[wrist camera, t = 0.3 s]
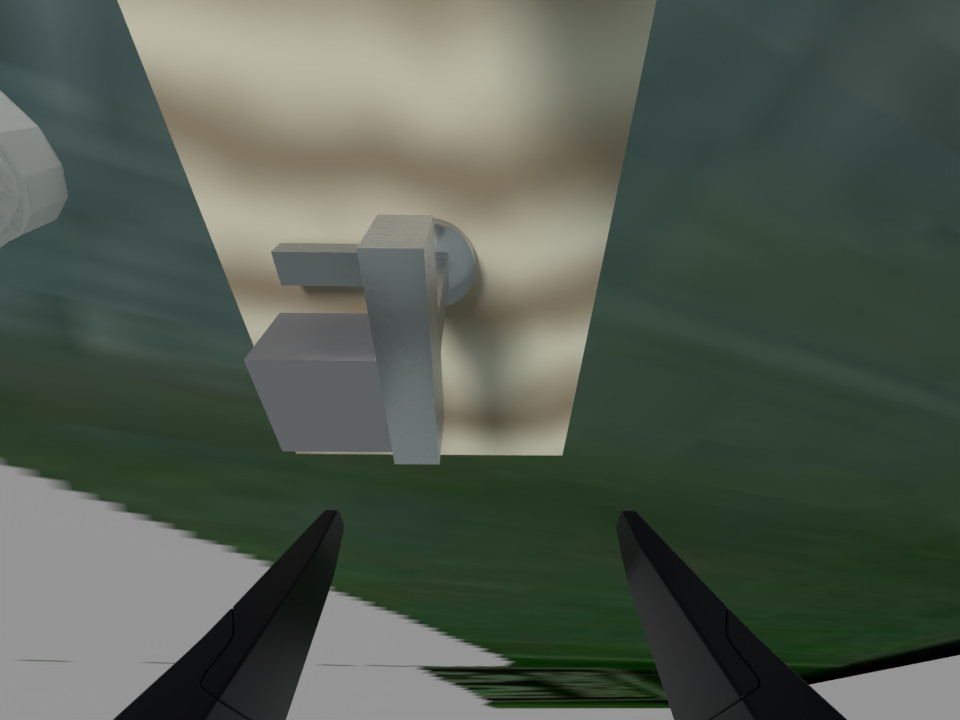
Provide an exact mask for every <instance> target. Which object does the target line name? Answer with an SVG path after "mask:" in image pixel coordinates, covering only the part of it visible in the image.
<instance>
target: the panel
mask: <svg viewBox="0 0 960 720" xmlns="http://www.w3.org/2000/svg"><path fill="white" fill-rule="evenodd" d="M117 1H118V3H119V6H120V8H121V11H122V14H123V16H124V19H125V21H126V24H127V26H128V29H129V31H130V34H131V36H132V39H133V41H134V44H135V46H136V49H137V52H138V54H139V57H140V59H141V62H142V64H143V67H144V69H145V72H146V74H147V77H148V79H149V82H150V84H151V87H152V90H153V92H154V95H155V97H156V100H157V102H158V105H159V107H160V110H161V112H162V115H163V117H164V120H165V122H166V125H167V128H168V130H169V133H170V135H171V138H172V140H173V143H174V145H175V148H176V150H177V153H178V155H179V158H180V161H181V163H182V166H183V168H184V171H185V173H186V176H187V178H188V181H189V183H190V186H191V188H192V191H193V193H194V196H195V199H196V201H197V204H198V206H199V209H200V211H201V214H202V216H203V219H204V221H205V224H206V226H207V229H208V231H209V234H210V237H211V239H212V242H213V244H214V247H215V249H216V252H217V254H218V257H219V259H220V262H221V264H222V267H223V269H224V272H225V275H226V277H227V280H228V282H229V285H230V287H231V290H232V292H233V295H234V297H235V300H236V302H237V305H238V307H239V310H240V313H241V315H242V318H243V320H244V323H245V325H246V328H247V330H248V333H249V335H250V338H251V340H252V343H253V345H254V346H255V344H256V343H257V342H258V340H259V339H260V338H261V336H262V335H263V334H264V333H265V331H266V330H267V329H268V327H269V326H270V325H271V323H272V322H273V321H274V319H275V318H276V317H277V316H278V314H279V313H362V314H368V310H367V305H366V299H365V293H364V288H363V286H281V283H280V280H279V276H278V273H277V270H276V267H275V264H274V260H273V257H272V254H271V251H272V250H273V249H274V248H275V247H276V246H277V245H278V244H279V243H319V244H359V243H360V242H361V240H362V238H363V237H364V235H365V234H366V232H367V230H368V229H369V227H370V226H371V224H372V222H373V221H374V219H375V218H376V216H377V215H433V218H436V219H440V220H444V221H447V222H449V223H451V224H453V225H454V226H456V227H457V228H459V229H460V230H461V231H462V232H463V233H464V234H465V235H466V236H467V238H468V239H469V241H470V243H471V245H472V247H473V250H474V254H475V276H474V280H473V283H472V285H471V287H470V289H469V291H468V292H467V293H466V294H465V295H464V296H463V297H462V298H461V299H460V300H459V301H457V302H455V303H453V304H451V305H448V306H446V313H445V321H444V329H443V337H442V345H441V365H442V383H443V401H444V423H443V434H442V444H441V455H553V456H562V455H563V450H564V446H565V441H566V436H567V431H568V426H569V421H570V417H571V412H572V407H573V402H574V397H575V392H576V388H577V383H578V378H579V373H580V368H581V363H582V359H583V354H584V349H585V344H586V339H587V334H588V330H589V325H590V320H591V315H592V310H593V305H594V301H595V296H596V291H597V286H598V281H599V276H600V272H601V267H602V262H603V257H604V252H605V247H606V243H607V238H608V233H609V228H610V223H611V218H612V213H613V209H614V204H615V199H616V194H617V189H618V184H619V180H620V175H621V170H622V165H623V160H624V155H625V151H626V146H627V141H628V136H629V131H630V126H631V122H632V117H633V112H634V107H635V102H636V97H637V93H638V88H639V83H640V78H641V73H642V68H643V64H644V59H645V54H646V49H647V44H648V39H649V35H650V30H651V25H652V20H653V15H654V10H655V6H656V1H657V0H117ZM295 452H296V454H393V452H299V451H295Z"/></svg>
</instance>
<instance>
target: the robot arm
mask: <svg viewBox="0 0 960 720" xmlns="http://www.w3.org/2000/svg"><path fill="white" fill-rule="evenodd" d="M343 532H344V523H343V520H342V517H341V515H340V512H339V511H338V510H325V511H324V512H323V513H322V514H321V515H320V516H319V517H318V518H317V519H316V520H315V521H314V522H313V523H312V524H311V525H310V526H309V527H308V529H307V530H306V531H305V532H304V533H303V534H302V535H301V536H300V537H299V538H298V539H297V540H296V541H295V542H294V543H293V544H292V545H291V546H290V547H289V548H288V549H287V551H286V552H285V553H284V554H283V555H282V556H281V557H280V558H279V559H278V560H277V561H276V562H275V563H274V564H273V565H272V566H271V567H270V568H269V569H268V570H267V572H266V573H265V574H264V575H263V576H262V577H261V578H260V579H259V580H258V581H257V582H256V583H255V584H254V585H253V586H252V587H251V588H250V589H249V590H248V591H247V592H246V594H245V595H244V596H243V597H242V598H241V599H240V600H239V601H238V602H237V603H236V604H235V605H234V606H233V609H230V610H229V611H228V612H227V613H226V614H225V615H224V616H223V617H222V618H221V619H220V620H219V621H218V622H217V623H216V624H215V625H214V626H213V627H212V628H211V629H210V630H209V631H208V632H207V633H206V634H205V635H204V636H203V637H202V638H201V639H200V640H199V641H198V642H197V643H196V644H195V645H194V646H193V647H192V648H191V649H190V650H189V651H188V652H187V653H185V654H184V655H183V656H182V657H181V658H180V659H179V660H178V661H177V662H176V663H175V664H173V665H172V666H171V667H170V668H169V669H168V670H167V671H166V672H165V673H164V674H162V675H161V676H160V677H159V678H158V679H157V680H156V681H155V682H154V683H153V684H151V685H150V686H149V687H148V688H147V689H146V690H145V691H144V692H143V693H142V694H140V695H139V696H138V697H137V698H136V699H135V700H134V701H133V702H132V703H131V704H129V705H128V706H127V707H126V708H125V709H124V710H123V711H122V712H121V713H120V714H118V715H117V716H116V717H115V718H114V719H113V720H286V718H287V715H288V712H289V709H290V706H291V703H292V700H293V697H294V694H295V691H296V688H297V685H298V682H299V679H300V676H301V673H302V670H303V667H304V664H305V661H306V658H307V655H308V652H309V649H310V646H311V643H312V640H313V637H314V634H315V631H316V628H317V625H318V622H319V620H320V617H321V614H322V611H323V608H324V605H325V602H326V599H327V596H328V593H329V590H330V587H331V584H332V580H333V577H334V573H335V569H336V565H337V560H338V555H339V551H340V546H341V541H342V537H343ZM616 532H617V537H618V541H619V546H620V551H621V555H622V560H623V565H624V569H625V573H626V577H627V580H628V584H629V587H630V590H631V593H632V596H633V599H634V602H635V605H636V608H637V611H638V614H639V617H640V620H641V623H642V626H643V628H644V631H645V634H646V637H647V640H648V643H649V646H650V649H651V652H652V655H653V658H654V661H655V664H656V667H657V670H658V673H659V676H660V679H661V682H662V685H663V688H664V691H665V694H666V697H667V700H668V703H669V706H670V709H671V712H672V715H673V718H674V720H847V719H846V718H845V717H844V716H843V715H842V714H840V713H839V712H838V711H837V710H836V709H835V708H834V707H833V706H832V705H831V704H829V703H828V702H827V701H826V700H825V699H824V698H823V697H822V696H821V695H820V694H818V693H817V692H816V691H815V690H814V689H813V688H812V687H811V686H810V685H809V684H807V683H806V682H805V681H804V680H803V679H802V678H801V677H800V676H799V675H798V674H796V673H795V672H794V671H793V670H792V669H791V668H790V667H789V666H788V665H787V664H785V663H784V662H783V661H782V660H781V659H780V658H779V657H778V656H777V655H776V654H775V653H773V652H772V651H771V650H770V649H769V648H768V647H767V646H766V645H765V644H764V643H763V642H762V641H761V640H760V639H759V638H758V637H757V636H756V635H755V634H754V633H753V632H752V631H751V630H750V629H749V628H748V627H747V626H746V625H745V624H744V623H743V622H742V621H741V620H740V619H739V618H738V617H737V616H736V615H735V614H734V613H733V612H732V611H731V610H730V609H727V606H726V605H725V604H724V603H723V602H722V601H721V600H720V599H719V598H718V597H717V596H716V595H715V594H714V592H713V591H712V590H711V589H710V588H709V587H708V586H707V585H706V584H705V583H704V582H703V581H702V580H701V579H700V578H699V577H698V576H697V575H696V574H695V573H694V572H693V570H692V569H691V568H690V567H689V566H688V565H687V564H686V563H685V562H684V561H683V560H682V559H681V558H680V557H679V556H678V555H677V554H676V553H675V552H674V551H673V549H672V548H671V547H670V546H669V545H668V544H667V543H666V542H665V541H664V540H663V539H662V538H661V537H660V536H659V535H658V534H657V533H656V532H655V531H654V530H653V529H652V527H651V526H650V525H649V524H648V523H647V522H646V521H645V520H644V519H643V518H642V517H641V516H640V515H639V514H638V513H637V512H636V511H635V510H622V511H621V512H620V515H619V517H618V520H617V523H616Z"/></svg>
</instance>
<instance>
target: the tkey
mask: <svg viewBox="0 0 960 720" xmlns="http://www.w3.org/2000/svg"><path fill="white" fill-rule="evenodd" d="M271 254H272V257H273V260H274V264H275V267H276V270H277V273H278V276H279V280H280V283H281V286H363V288H364V293H365V299H366V305H367V310H368V316H369V322H370V327H371V333H372V339H373V344H374V350H375V356H376V361H377V367H378V373H379V378H380V384H381V390H382V395H383V401H384V407H385V412H386V418H387V424H388V429H389V435H390V441H391V446H392V452H393V458H394V463H395V464H440V455H441V444H442V434H443V423H444V401H443V383H442V365H441V345H442V337H443V329H444V321H445V313H446V306H448V305H451V304H453V303H455V302H457V301H459V300H460V299H461V298H462V297H463V296H464V295H465V294H466V293H467V292H468V291H469V289H470V287H471V285H472V283H473V280H474V276H475V254H474V250H473V247H472V245H471V243H470V241H469V239H468V238H467V236H466V235H465V234H464V233H463V232H462V231H461V230H460V229H459V228H457V227H456V226H454V225H453V224H451V223H449V222H447V221H444V220H440V219H436V218H433V215H377V216H376V218H375V219H374V221H373V222H372V224H371V226H370V227H369V229H368V230H367V232H366V234H365V235H364V237H363V238H362V240H361V242H360V243H359V244H319V243H279V244H278V245H277V246H276V247H275V248H274V249H273V250H272V251H271Z"/></svg>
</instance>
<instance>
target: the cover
mask: <svg viewBox="0 0 960 720" xmlns="http://www.w3.org/2000/svg"><path fill="white" fill-rule="evenodd" d="M244 362H245V364H246V367H247V369H248V371H249V374H250V376H251V378H252V381H253V383H254V385H255V388H256V390H257V392H258V395H259V397H260V400H261V402H262V404H263V407H264V409H265V411H266V414H267V416H268V418H269V421H270V423H271V426H272V428H273V430H274V433H275V435H276V437H277V440H278V442H279V444H280V447H281V449H282V451H299V452H392V446H391V441H390V435H389V429H388V424H387V418H386V412H385V407H384V401H383V395H382V390H381V384H380V378H379V373H378V367H377V361H376V356H375V350H374V344H373V339H372V333H371V327H370V322H369V316H368V314H362V313H279V314H278V316H277V317H276V318H275V319H274V321H273V322H272V323H271V325H270V326H269V327H268V329H267V330H266V331H265V333H264V334H263V335H262V336H261V338H260V339H259V340H258V342H257V343H256V344H255V346H254V347H253V348H252V350H251V351H250V352H249V353H248V355H247V356H246V357H245V359H244Z"/></svg>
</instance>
